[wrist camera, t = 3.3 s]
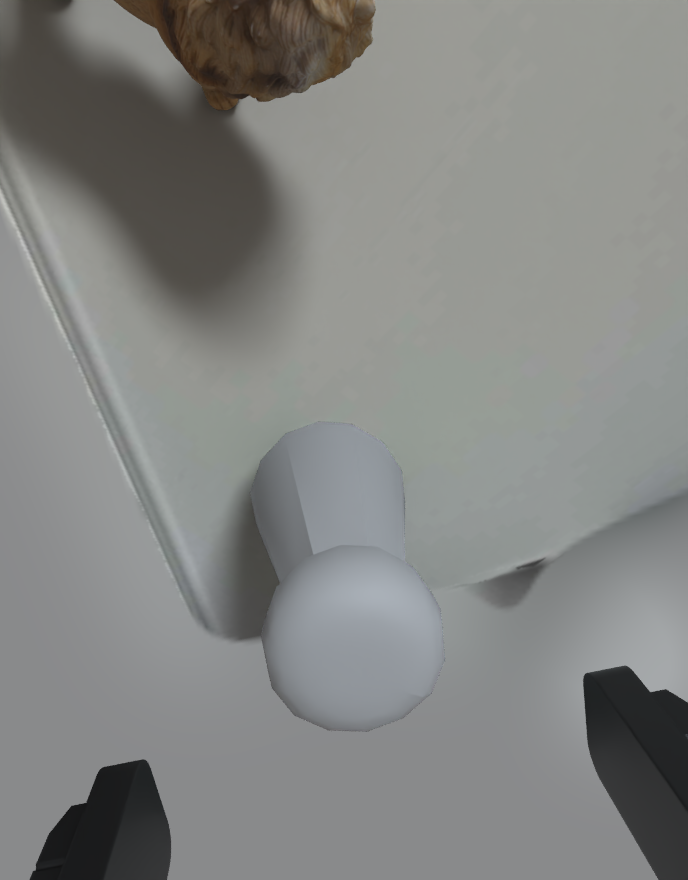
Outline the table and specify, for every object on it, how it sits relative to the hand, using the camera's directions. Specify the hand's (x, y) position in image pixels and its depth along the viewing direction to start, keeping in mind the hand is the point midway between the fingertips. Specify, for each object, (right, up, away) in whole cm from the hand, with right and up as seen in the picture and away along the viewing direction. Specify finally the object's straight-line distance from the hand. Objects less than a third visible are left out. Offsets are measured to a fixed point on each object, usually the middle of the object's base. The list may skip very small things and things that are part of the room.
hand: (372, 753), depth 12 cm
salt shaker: (-1, +4, +15) cm, 16 cm away
